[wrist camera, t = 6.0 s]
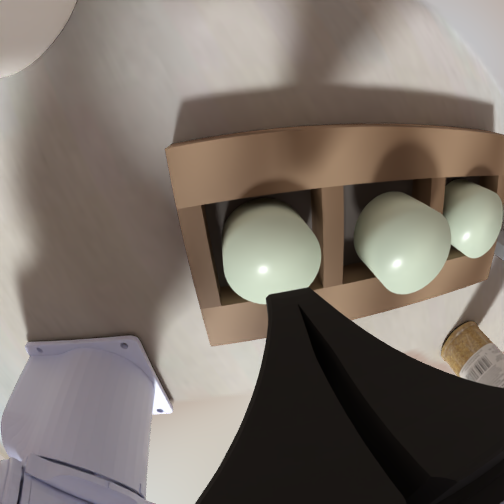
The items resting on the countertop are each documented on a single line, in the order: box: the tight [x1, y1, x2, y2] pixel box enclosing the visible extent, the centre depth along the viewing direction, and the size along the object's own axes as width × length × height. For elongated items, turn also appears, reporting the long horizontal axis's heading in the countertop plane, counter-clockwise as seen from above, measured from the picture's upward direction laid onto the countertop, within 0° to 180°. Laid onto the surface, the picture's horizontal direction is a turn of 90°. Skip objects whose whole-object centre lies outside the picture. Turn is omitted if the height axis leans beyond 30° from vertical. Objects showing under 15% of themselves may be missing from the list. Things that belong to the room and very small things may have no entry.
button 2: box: [221, 198, 321, 304], centre depth 13 cm, size 4×4×2 cm
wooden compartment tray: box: [165, 124, 504, 346], centre depth 14 cm, size 19×10×2 cm, turn 97°
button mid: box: [353, 191, 451, 294], centre depth 12 cm, size 4×4×2 cm
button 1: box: [442, 178, 503, 258], centre depth 14 cm, size 4×4×2 cm
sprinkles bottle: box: [441, 321, 504, 388], centre depth 16 cm, size 5×5×13 cm
